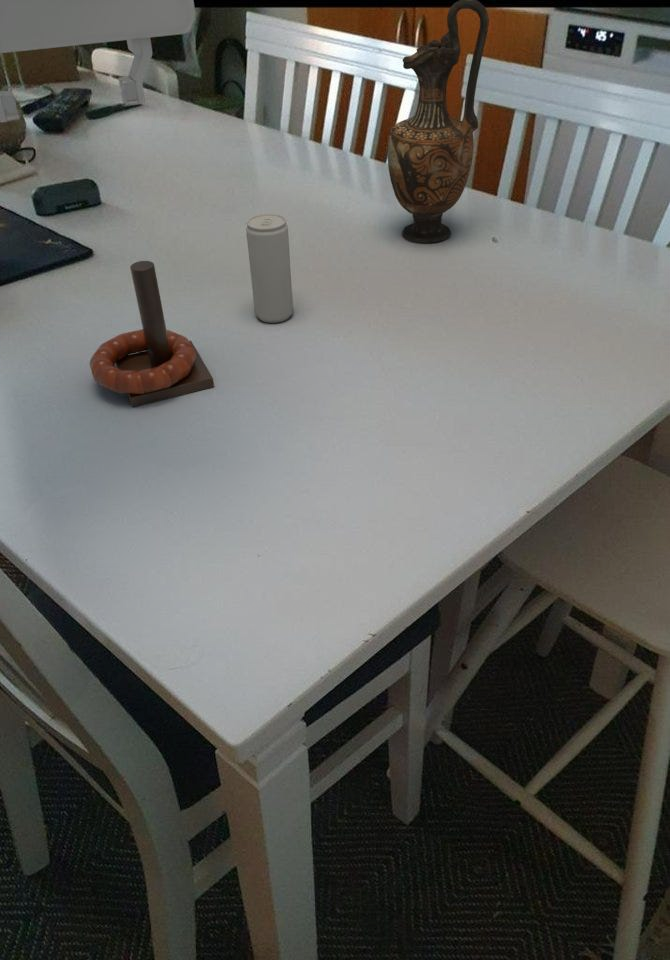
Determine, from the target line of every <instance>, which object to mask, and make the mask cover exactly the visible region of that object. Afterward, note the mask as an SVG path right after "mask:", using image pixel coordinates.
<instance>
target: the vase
mask: <svg viewBox="0 0 670 960" xmlns="http://www.w3.org/2000/svg"><path fill="white" fill-rule="evenodd" d="M463 9H466V10H471V11H473V12H475V13H476V14H477V16H478V18H479V30H478V33H477V38H476V43H475V46H474V50H473V56H472V59H471V63H470V69H469V74H468V80H467V83H466V84H467V85H466V90H465V91H466V92H465V99H464V109H463V116H462V120H461V119H459V118H456V117H453V116H452V115H451V114H450V113H449V110H448V103H447V86H448V80H449V77H450V75H451V72H452V70H453V68H454V66H455V65H457V64H458V63H459V61H460V55H461V42H460V37H459V23H458V17H457V15H458V13H459V12H460V10H463ZM446 23H447V24H446V25H447V32H446V33H445V34H444V35H442V36H441V38H440V40H439V39H432V40H430V41H429V42H428V43H425V44H422V45H421V46H419V47H417V48H416V51H415V52H414V53H413V54H412V55H407V56H404V57H403V58H402V63H403V64H402V67H403V69H404V70H410V69H411V70H412V71H413V72H414V74H415V76H416V78H417V80H418V84H419V85H418V87H419V92H418V102H417V107H416V110H415V113H414V115H413V116H412V117H410V118H409V117H408V118H405V119H403V120H401V121H399V122H397V123H395V124H394V125H393V126H392V127H391V128H390V130H389V131H388V135H387V143H386V144H387V146H386V147H387V148H386V151H387V152H386V154H387V155H386V157H387V166H388V175H389V179H390V182H391V183H390V184H391V187H392V190H393V193H394V196H395V198H396V200H397V202H398V204H399V205H400V206H401V208H402V209H404V210H405V211H407V213H409V214H411V215H412V220H413V222H412V223H410V224H407V225H406V226H404V227H403V228H402V232H401V236H402V238H404V239H405V240H406V241H408V242H411V243H417V244H433V243H440V242H443V241H445V240H447V239H449V238H450V237H451V236H452V230H451V229H450V227H449V226H447V225H446V224H444V223H442V221H443V215H444V213H446V212H447V211H449V210H450V209H452V208H453V207H454V206H455V205H456V204H457V203H458V202H459V200H460V198H461V196H462V194H463V193H464V191H465V188H466V186H467V183H468V180H469V176H470V173H471V168H472V165H473V164H472V163H473V157H474V144H475V143H474V132H475V131H476V130H477V129H479V121H478V117H477V115H476V113H475V97H476V91H477V83H478V78H479V73H480V68H481V63H482V59H483V53H484V49H485V44H486V40H487V37H488V31H489V29H488V28H489V25H490V19H489V14H488V10H487V8H486V7H485V5H483V4H482V3H481V1H479V0H458V1H455V2H454V3H453V4H452V6H450V8H449V10H448V13H447V17H446Z"/></svg>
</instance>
